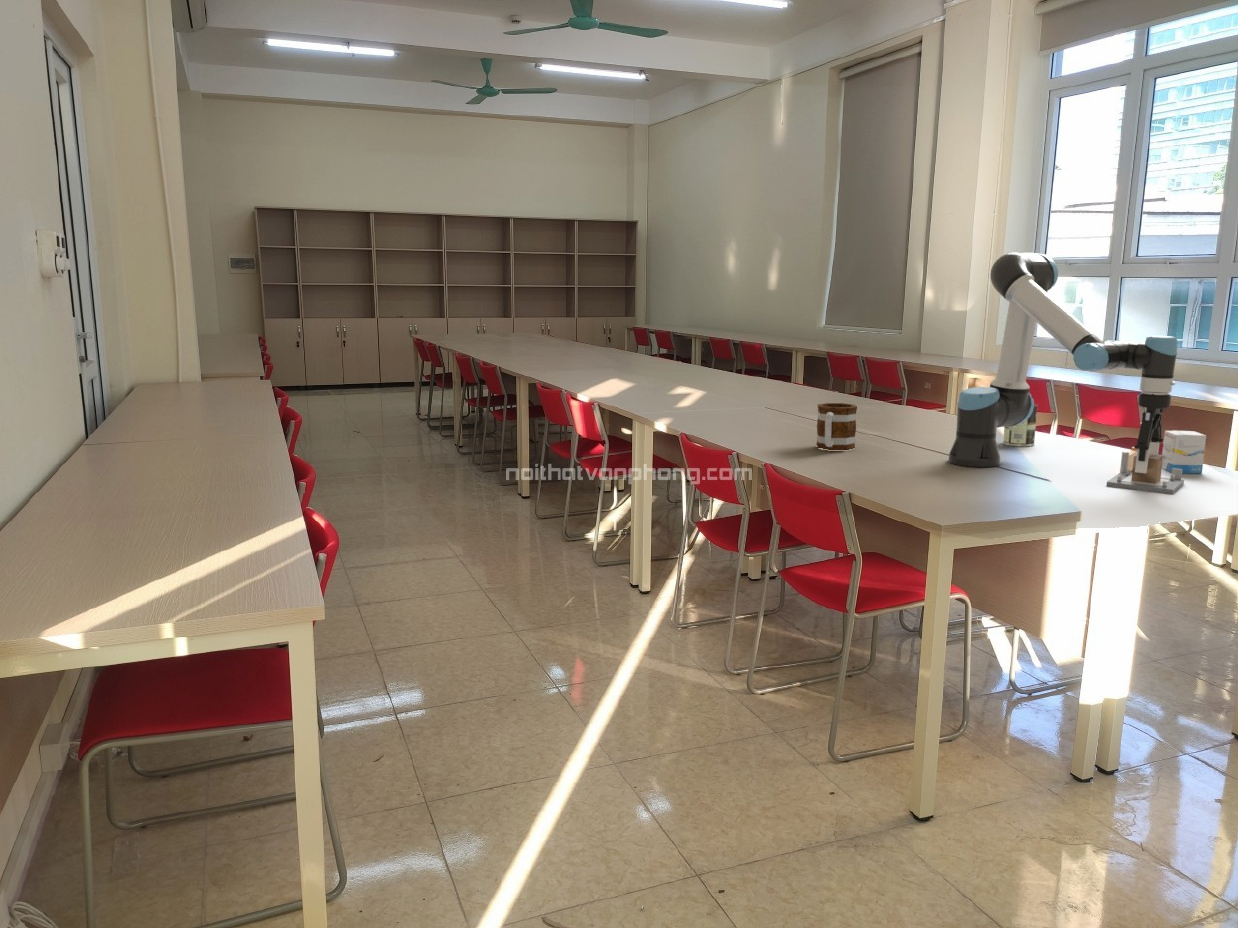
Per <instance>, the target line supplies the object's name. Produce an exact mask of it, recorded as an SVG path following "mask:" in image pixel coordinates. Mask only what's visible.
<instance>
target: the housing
mask: <svg viewBox="0 0 1238 928" xmlns="http://www.w3.org/2000/svg"><path fill="white" fill-rule="evenodd" d="M1129 452H1130V451H1129ZM1129 452H1128V451H1122V452H1121V460H1120V468H1119V473H1118V474H1116V475H1114V476H1113V477H1112V478H1110V479H1109V480H1107V481H1106V486H1107V487H1114V488H1121V489H1128V490H1129V489H1130V490H1136V491H1142V492H1143V491H1145V492H1153V493H1160V494H1168V495H1174V494H1175V493H1176V492H1177V491H1178V490H1179V489H1180V488H1182V486H1183V485H1184V484H1185V479H1182V475H1183V473H1182V469H1174V468H1172V473H1171V474H1170V477H1162V476H1161V478H1160V481H1159V482H1157V483H1156V484H1154V483H1146V482H1138V481H1131V478H1132V473H1131V472H1132V471H1131V470H1127V468H1128V459H1129ZM1130 471H1131V472H1130Z"/></svg>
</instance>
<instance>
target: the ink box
mask: <svg viewBox="0 0 1238 928" xmlns="http://www.w3.org/2000/svg"><path fill="white" fill-rule="evenodd" d="M1206 441H1207V435H1206V434H1203V433H1200V432H1197V431H1193V430H1164V436H1163V442H1162V443H1163V445H1162V453H1161V455H1163V461H1162V470H1165V471H1167V472H1169V473H1171V474H1172V468H1174V469H1182V474H1200V473H1202V474H1203V467H1204V466H1203V465H1204V458H1205V448H1206V443H1207V442H1206Z"/></svg>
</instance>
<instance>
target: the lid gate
mask: <svg viewBox="0 0 1238 928" xmlns="http://www.w3.org/2000/svg"><path fill="white" fill-rule="evenodd" d="M1134 447H1135V446H1132V447H1131V451H1129V459H1128V468H1127V470H1131V471H1130V473H1132V469H1133V460H1134V456H1135V455H1136V454H1137V450H1138V449H1135V448H1134Z"/></svg>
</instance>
